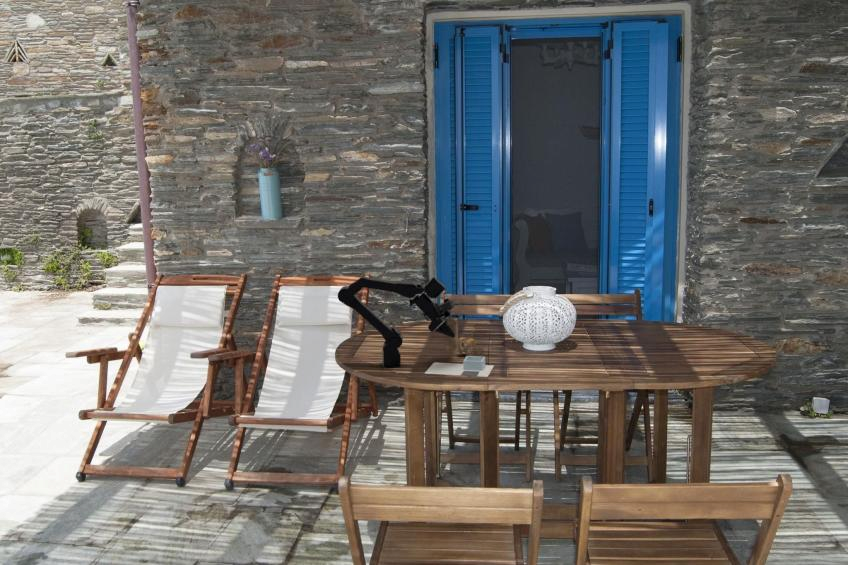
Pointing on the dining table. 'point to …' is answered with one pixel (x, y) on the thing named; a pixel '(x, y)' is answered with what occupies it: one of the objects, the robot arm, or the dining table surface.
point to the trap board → (457, 370)
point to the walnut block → (451, 342)
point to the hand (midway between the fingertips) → (455, 335)
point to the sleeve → (474, 363)
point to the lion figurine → (466, 345)
